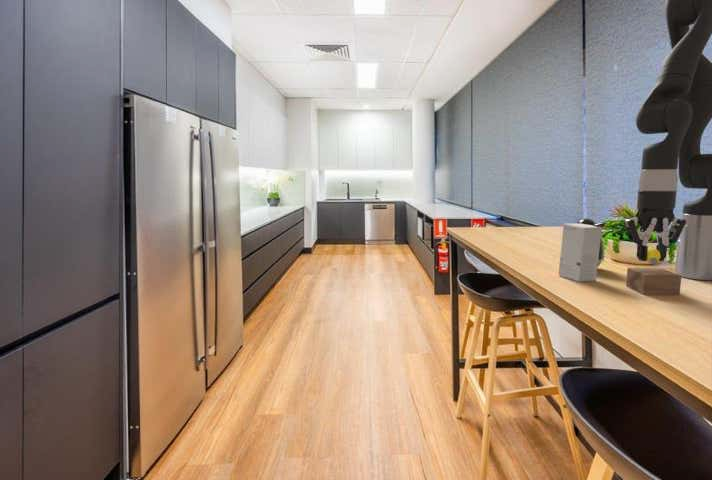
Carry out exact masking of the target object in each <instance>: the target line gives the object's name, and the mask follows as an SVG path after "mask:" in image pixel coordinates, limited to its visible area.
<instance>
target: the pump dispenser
mask: <svg viewBox="0 0 712 480" xmlns="http://www.w3.org/2000/svg"><path fill="white" fill-rule="evenodd" d="M576 224H586V225H592V226H597V227H601V228H603V227H605V226H606V223H605V222H604V221H603V222H600V223H596V222H595V221H594V220H593V219H591V218H582V219H580V220H579V221H578V222H577V223H576ZM604 249H605V248H604V242H603V238H602V236H601V241H600V249H599V258H598V267H600V265H601V264H602V262H603V260H604V258H605V257H604V256H605V251H604Z"/></svg>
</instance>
